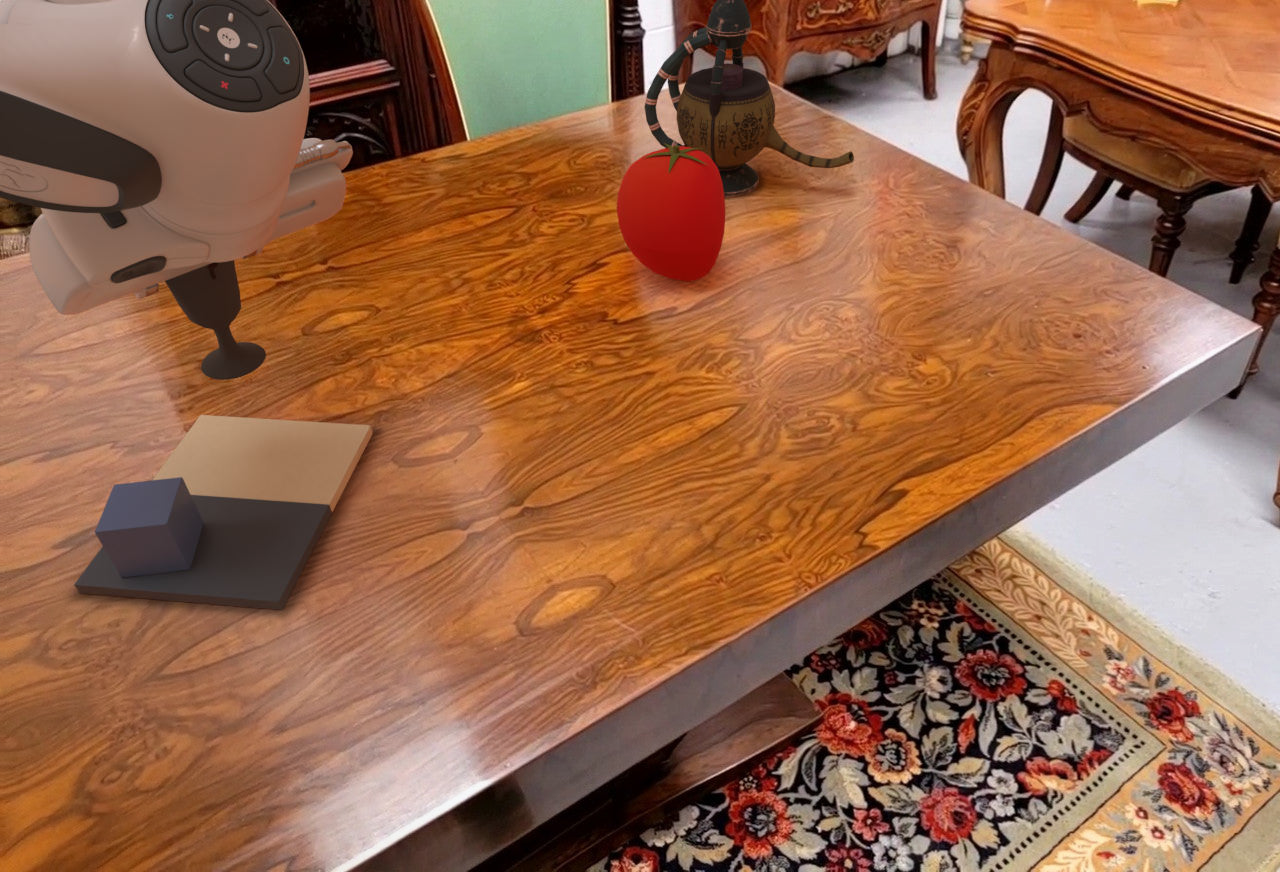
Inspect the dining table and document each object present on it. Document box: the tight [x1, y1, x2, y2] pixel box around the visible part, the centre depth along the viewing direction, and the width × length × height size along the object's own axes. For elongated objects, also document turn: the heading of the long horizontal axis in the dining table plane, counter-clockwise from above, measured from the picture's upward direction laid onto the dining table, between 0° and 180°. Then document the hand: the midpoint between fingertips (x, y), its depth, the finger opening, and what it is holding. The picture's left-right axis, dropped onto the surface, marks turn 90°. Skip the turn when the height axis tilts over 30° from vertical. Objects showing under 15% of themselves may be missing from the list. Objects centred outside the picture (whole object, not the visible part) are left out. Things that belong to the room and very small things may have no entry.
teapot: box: [644, 0, 855, 198], centre depth 111 cm, size 12×25×23 cm, turn 71°
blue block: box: [94, 477, 204, 578], centre depth 70 cm, size 5×5×5 cm
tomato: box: [616, 143, 726, 282], centre depth 99 cm, size 13×11×14 cm
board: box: [73, 414, 374, 611], centre depth 76 cm, size 16×20×1 cm
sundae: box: [164, 260, 267, 381], centre depth 69 cm, size 7×7×15 cm
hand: (195, 266), depth 69 cm, fingers closed on sundae, 6 cm apart
